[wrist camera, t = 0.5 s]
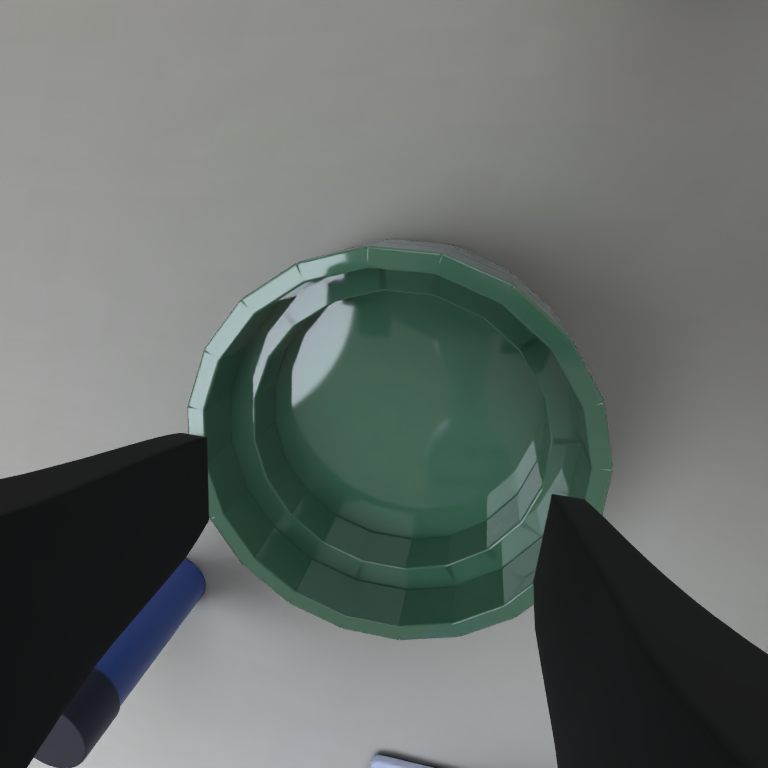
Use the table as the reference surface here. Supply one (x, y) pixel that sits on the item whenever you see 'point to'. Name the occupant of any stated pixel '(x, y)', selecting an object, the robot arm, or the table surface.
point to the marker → (121, 670)
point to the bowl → (396, 437)
